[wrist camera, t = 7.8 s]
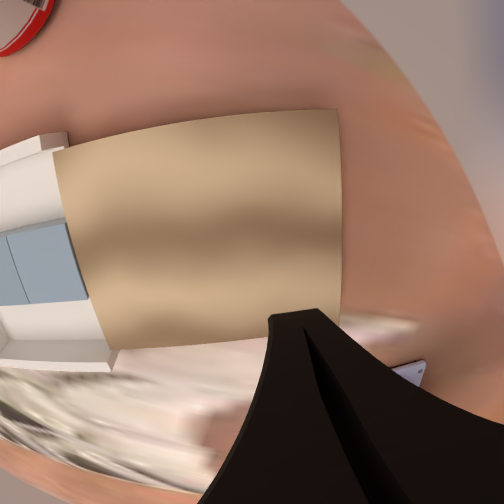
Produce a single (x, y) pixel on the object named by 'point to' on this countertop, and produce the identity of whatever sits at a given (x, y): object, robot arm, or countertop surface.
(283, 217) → the board
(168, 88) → the countertop surface
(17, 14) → the beer can
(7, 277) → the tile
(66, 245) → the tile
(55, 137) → the tray
